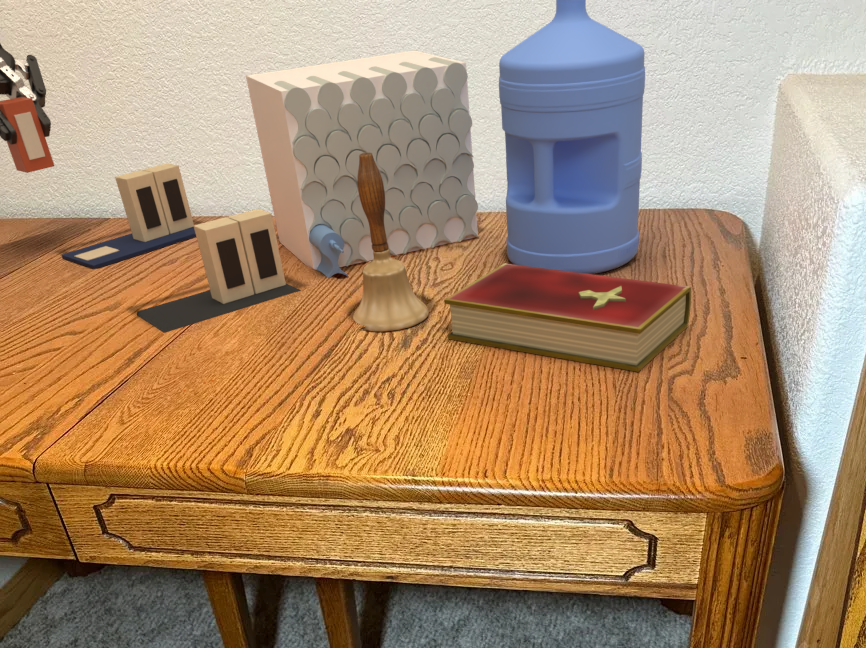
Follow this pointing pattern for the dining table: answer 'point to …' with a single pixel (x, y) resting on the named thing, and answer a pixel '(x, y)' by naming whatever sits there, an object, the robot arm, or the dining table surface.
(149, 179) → the mat
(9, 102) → the red rectangular block
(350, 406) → the dining table surface
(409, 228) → the scalloped white box
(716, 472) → the dining table surface
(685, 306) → the hardcover book
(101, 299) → the dining table surface
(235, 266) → the front word mat
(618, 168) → the water jug
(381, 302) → the hand bell
